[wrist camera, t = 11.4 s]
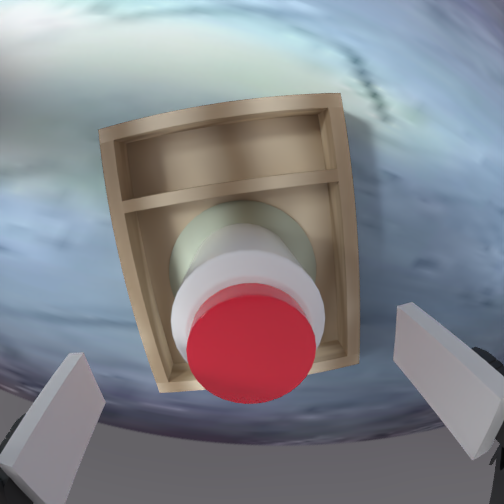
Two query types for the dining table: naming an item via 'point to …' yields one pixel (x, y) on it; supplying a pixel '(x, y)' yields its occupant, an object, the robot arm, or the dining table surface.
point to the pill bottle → (247, 315)
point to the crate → (234, 208)
